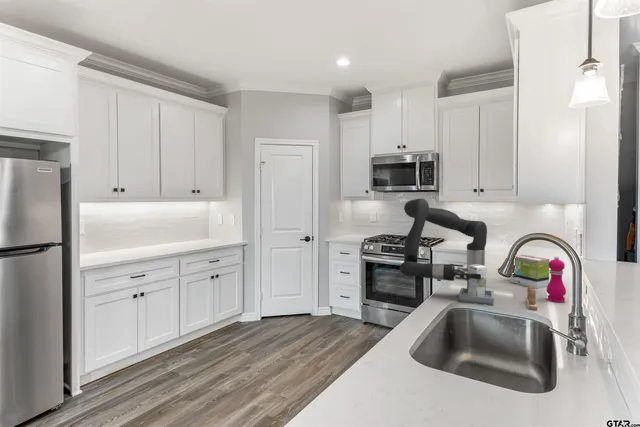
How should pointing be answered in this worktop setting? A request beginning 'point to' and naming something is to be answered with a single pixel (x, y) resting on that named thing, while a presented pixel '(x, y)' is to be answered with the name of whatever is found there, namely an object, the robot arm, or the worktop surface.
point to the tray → (476, 297)
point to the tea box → (531, 271)
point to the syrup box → (477, 281)
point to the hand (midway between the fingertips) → (481, 274)
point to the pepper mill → (556, 281)
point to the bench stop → (531, 298)
